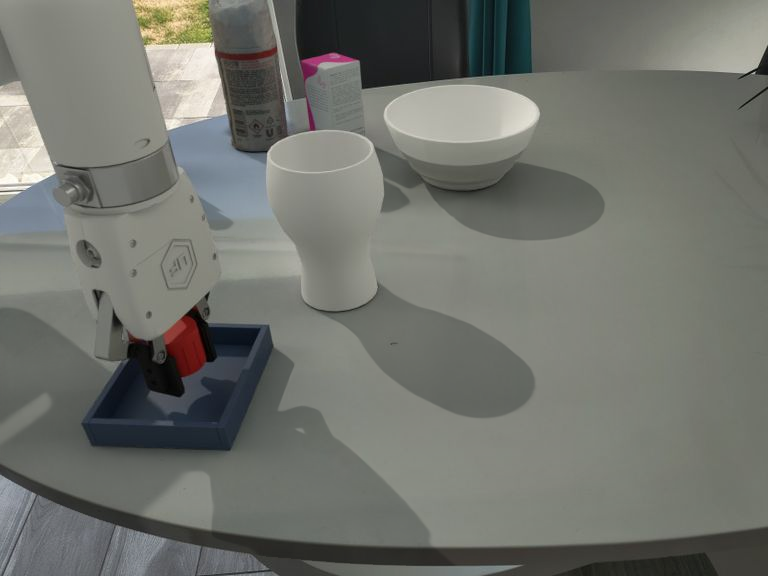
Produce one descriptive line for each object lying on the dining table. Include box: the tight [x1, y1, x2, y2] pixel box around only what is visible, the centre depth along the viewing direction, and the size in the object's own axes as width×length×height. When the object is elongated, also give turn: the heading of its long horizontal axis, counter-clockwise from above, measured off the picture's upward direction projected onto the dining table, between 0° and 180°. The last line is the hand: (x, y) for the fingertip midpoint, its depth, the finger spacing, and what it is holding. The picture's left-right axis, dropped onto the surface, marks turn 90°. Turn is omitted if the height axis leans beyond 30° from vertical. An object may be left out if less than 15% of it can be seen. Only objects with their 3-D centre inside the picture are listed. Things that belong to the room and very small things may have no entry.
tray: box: [80, 322, 274, 451], centre depth 62 cm, size 11×13×2 cm
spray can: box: [208, 0, 290, 152], centre depth 98 cm, size 8×8×20 cm
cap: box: [146, 316, 206, 378], centre depth 59 cm, size 4×4×4 cm
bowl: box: [383, 84, 541, 192], centre depth 94 cm, size 20×20×8 cm
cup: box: [265, 130, 385, 312], centre depth 70 cm, size 11×11×15 cm
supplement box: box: [300, 52, 367, 138], centre depth 100 cm, size 6×6×12 cm
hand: (183, 372), depth 61 cm, fingers closed on cap, 3 cm apart
